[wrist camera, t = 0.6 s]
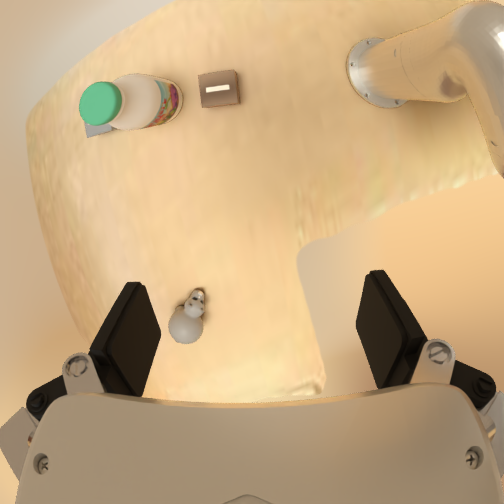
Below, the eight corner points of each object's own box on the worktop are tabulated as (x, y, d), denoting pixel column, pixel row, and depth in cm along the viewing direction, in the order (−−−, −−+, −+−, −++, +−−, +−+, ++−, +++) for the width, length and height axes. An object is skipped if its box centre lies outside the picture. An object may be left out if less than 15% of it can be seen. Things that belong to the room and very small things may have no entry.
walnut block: (204, 78, 36) (197, 75, 31) (236, 74, 35) (233, 69, 31) (208, 107, 38) (201, 107, 34) (239, 103, 38) (237, 102, 33)
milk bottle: (131, 112, 38) (57, 125, 21) (154, 72, 35) (86, 57, 17) (168, 131, 40) (108, 153, 23) (192, 91, 37) (143, 82, 19)
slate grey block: (98, 107, 37) (82, 109, 33) (121, 99, 37) (106, 100, 32) (102, 133, 40) (86, 138, 35) (125, 126, 39) (111, 130, 35)
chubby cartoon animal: (217, 292, 59) (220, 306, 51) (194, 336, 60) (194, 355, 52) (187, 277, 57) (185, 290, 49) (165, 323, 58) (161, 341, 50)
